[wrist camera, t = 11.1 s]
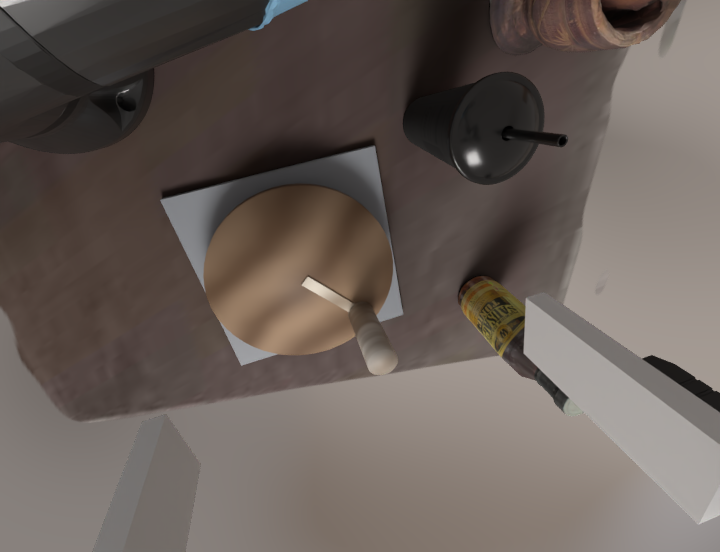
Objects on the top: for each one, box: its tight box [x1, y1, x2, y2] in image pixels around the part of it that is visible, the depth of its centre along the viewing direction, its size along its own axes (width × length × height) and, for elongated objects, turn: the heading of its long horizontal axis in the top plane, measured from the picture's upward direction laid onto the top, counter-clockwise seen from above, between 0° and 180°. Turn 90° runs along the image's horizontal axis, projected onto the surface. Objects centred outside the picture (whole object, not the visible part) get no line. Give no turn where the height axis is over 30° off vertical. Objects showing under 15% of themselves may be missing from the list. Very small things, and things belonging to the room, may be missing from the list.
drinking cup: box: [403, 72, 568, 185], centre depth 29 cm, size 8×8×20 cm
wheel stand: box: [160, 145, 403, 365], centre depth 41 cm, size 22×22×1 cm
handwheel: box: [203, 183, 398, 375], centre depth 35 cm, size 20×20×12 cm
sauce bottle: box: [458, 276, 584, 416], centre depth 41 cm, size 6×6×20 cm
